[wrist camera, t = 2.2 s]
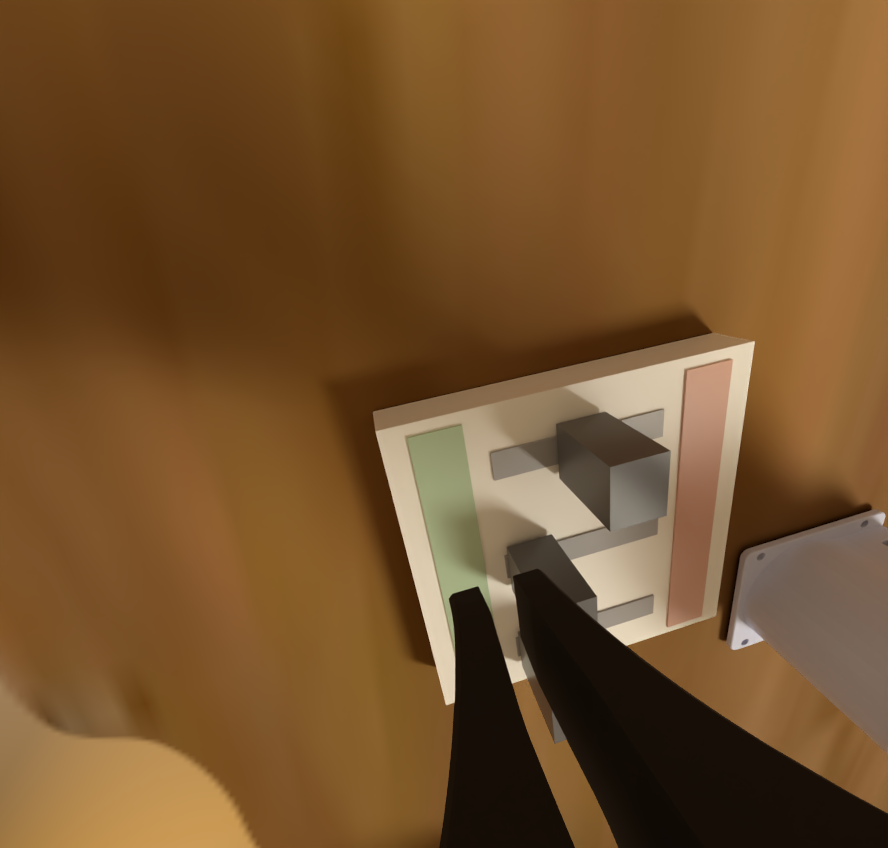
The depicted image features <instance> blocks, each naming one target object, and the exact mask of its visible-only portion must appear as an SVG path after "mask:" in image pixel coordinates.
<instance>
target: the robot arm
mask: <svg viewBox="0 0 888 848" xmlns="http://www.w3.org/2000/svg"><path fill="white" fill-rule="evenodd" d="M884 519H885V513H883V512H881V511H879V510H877V509H874V510H870V511H867V512H864V513H861V514H858V515H854V516H851V517H848V518H845V519H842V520H838V521H835V522H832V523H829V524H825V525H822V526H819V527H816V528H813V529H809V530H806V531H803V532H800V533H796V534H793V535H790V536H787V537H784V538H780V539H777V540H774V541H771V542H767V543H764V544H761V545H758V546H755V547H751V548H748V549H746V550H745V551H743V552H742V554H741V556H740V561H739V567H738V573H737V580H736V586H735V592H734V598H733V604H732V611H731V617H730V623H729V629H728V635H727V645H728V646H729V647H730V648H731V649H732V650H737V649H740V648H743V647H746V646H749V645H752V644H754V643H757V642H760V641H763V640H765V641H766V642H767V643H768V644H769V645H770V646H771V647H772V648H773V649H774V650H775V651H776V652H778V653H779V654H780V655H781V656H782V657H783V658H784V659H785V660H786V661H787V662H788V663H789V664H791V665H792V666H793V667H794V668H795V669H796V670H797V671H798V672H799V673H800V674H801V675H802V676H804V677H805V678H806V679H807V680H808V681H809V682H810V683H811V684H812V685H813V686H814V687H816V688H817V689H818V690H819V691H820V692H821V693H822V694H823V695H824V696H825V697H826V698H827V699H829V700H830V701H831V702H832V703H833V704H834V705H835V706H836V707H837V708H838V709H839V710H840V711H842V712H843V713H844V714H845V715H846V716H847V717H848V718H849V719H850V720H851V721H852V722H853V723H855V724H856V725H857V726H858V727H859V728H860V729H861V730H862V731H863V732H864V733H865V734H866V735H868V736H869V737H870V738H871V739H872V740H873V741H874V742H875V743H876V744H877V745H878V746H879V747H881V748H882V749H883V750H884V751H885V752H886V753H887V754H888V528H886V527H884V526H882V525H883V522H884ZM513 581H514V589H515V597H516V605H517V612H518V620H519V628H520V635H521V640H522V642H523V645H524V647H525V650H526V653H527V655H528V658H529V660H530V663H531V666H532V668H533V671H534V673H535V676H536V678H537V681H538V683H539V685H540V687H541V689H542V691H543V693H544V695H545V697H546V699H547V701H548V703H549V705H550V707H551V709H552V711H553V713H554V715H555V717H556V719H557V721H558V723H559V725H560V727H561V729H562V731H563V733H564V735H565V737H566V739H567V741H568V743H569V745H570V747H571V749H572V751H573V753H574V755H575V757H576V759H577V761H578V763H579V765H580V767H581V769H582V771H583V773H584V774H585V776H586V778H587V780H588V782H589V784H590V786H591V788H592V790H593V792H594V794H595V796H596V798H597V800H598V803H599V805H600V807H601V809H602V811H603V813H604V815H605V818H606V820H607V822H608V824H609V826H610V829H611V831H612V833H613V836H614V838H615V840H616V843H617V845H618V848H888V813H886V812H884V811H882V810H880V809H878V808H877V807H875V806H873V805H871V804H869V803H867V802H866V801H864V800H862V799H860V798H858V797H856V796H855V795H853V794H851V793H849V792H847V791H846V790H844V789H842V788H841V787H839V786H837V785H835V784H834V783H832V782H830V781H829V780H827V779H825V778H824V777H822V776H820V775H818V774H817V773H815V772H813V771H812V770H810V769H808V768H806V767H805V766H803V765H801V764H800V763H798V762H796V761H795V760H793V759H791V758H789V757H788V756H786V755H784V754H783V753H781V752H779V751H778V750H776V749H774V748H772V747H771V746H769V745H767V744H766V743H764V742H763V741H761V740H759V739H758V738H756V737H755V736H753V735H752V734H750V733H748V732H747V731H745V730H744V729H742V728H741V727H739V726H737V725H736V724H734V723H733V722H731V721H730V720H728V719H727V718H725V717H723V716H722V715H721V714H719V713H718V712H716V711H715V710H713V709H712V708H710V707H709V706H707V705H706V704H704V703H703V702H701V701H700V700H698V699H697V698H695V697H694V696H692V695H691V694H690V693H688V692H687V691H685V690H684V689H683V688H681V687H680V686H678V685H677V684H676V683H674V682H673V681H671V680H670V679H669V678H667V677H666V676H665V675H663V674H662V673H661V672H659V671H658V670H657V669H655V668H654V667H653V666H651V665H650V664H649V663H647V662H646V661H645V660H643V659H642V658H641V657H640V656H638V655H637V654H636V653H635V652H633V651H632V650H631V649H629V648H628V647H627V646H626V645H624V644H623V643H622V642H621V641H620V640H618V639H617V638H616V637H615V636H614V635H612V634H611V633H610V632H609V631H608V630H606V629H605V628H604V627H603V626H602V625H600V624H599V623H598V622H597V621H596V620H594V619H593V618H592V617H591V616H590V615H589V614H588V613H586V612H585V611H584V610H583V609H582V608H581V607H580V606H579V605H577V604H576V603H575V602H574V601H573V600H572V599H571V598H570V597H569V596H568V595H567V594H565V593H564V592H563V591H562V590H561V589H560V588H559V587H558V586H557V585H556V584H555V583H554V582H553V581H552V580H551V579H550V578H549V577H548V576H547V575H546V574H545V573H544V572H543V571H541V570H539V569H534V570H531V571H527V572H524V573H521V574H517V575H514V576H513ZM449 603H450V608H451V612H452V617H453V625H454V638H455V703H454V719H453V735H452V749H451V760H450V770H449V780H448V788H447V797H446V805H445V813H444V821H443V828H442V834H441V841H440V848H575V847H574V844H573V842H572V840H571V837H570V835H569V832H568V830H567V828H566V825H565V823H564V820H563V818H562V816H561V813H560V811H559V808H558V806H557V804H556V801H555V799H554V796H553V794H552V792H551V789H550V787H549V784H548V782H547V779H546V777H545V774H544V772H543V769H542V767H541V765H540V762H539V760H538V757H537V755H536V752H535V750H534V747H533V745H532V742H531V740H530V737H529V735H528V732H527V729H526V726H525V723H524V720H523V718H522V715H521V712H520V709H519V705H518V702H517V699H516V695H515V692H514V689H513V685H512V682H511V679H510V675H509V672H508V668H507V665H506V662H505V658H504V655H503V652H502V648H501V645H500V641H499V638H498V635H497V631H496V628H495V625H494V621H493V618H492V615H491V612H490V610H489V607H488V605H487V603H486V601H485V599H484V597H483V595H482V593H481V591H480V589H479V587H478V586H477V587H473V588H470V589H467V590H463V591H460V592H456V593H453V594H452V595H451V596H450V598H449Z"/></svg>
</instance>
